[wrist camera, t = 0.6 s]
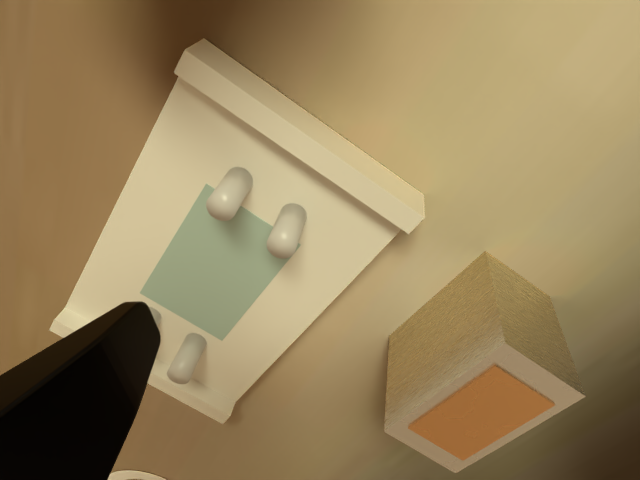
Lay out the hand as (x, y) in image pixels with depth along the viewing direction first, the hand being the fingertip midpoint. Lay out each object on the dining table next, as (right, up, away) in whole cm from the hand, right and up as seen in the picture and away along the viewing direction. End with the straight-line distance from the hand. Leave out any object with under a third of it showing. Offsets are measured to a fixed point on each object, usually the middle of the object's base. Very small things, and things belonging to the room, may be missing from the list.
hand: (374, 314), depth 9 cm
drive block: (+6, -2, +16) cm, 17 cm away
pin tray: (-6, 0, +16) cm, 17 cm away
